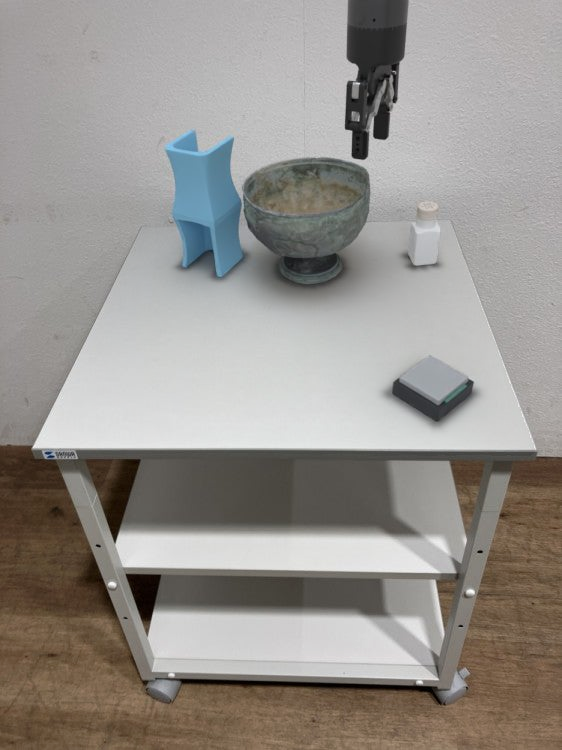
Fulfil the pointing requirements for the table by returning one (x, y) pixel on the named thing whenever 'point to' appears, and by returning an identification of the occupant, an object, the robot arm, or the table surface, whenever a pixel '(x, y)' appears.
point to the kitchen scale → (433, 387)
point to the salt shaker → (424, 235)
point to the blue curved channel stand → (205, 201)
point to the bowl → (307, 213)
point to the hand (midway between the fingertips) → (370, 148)
